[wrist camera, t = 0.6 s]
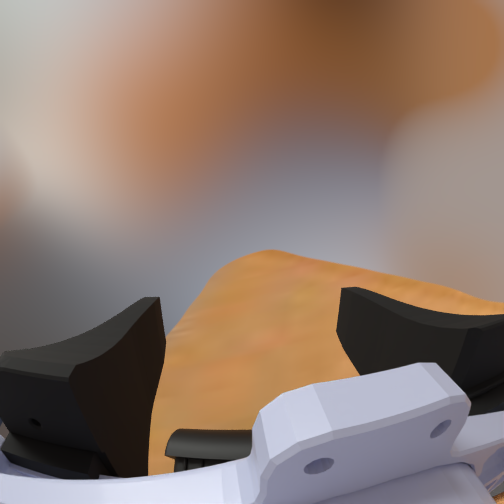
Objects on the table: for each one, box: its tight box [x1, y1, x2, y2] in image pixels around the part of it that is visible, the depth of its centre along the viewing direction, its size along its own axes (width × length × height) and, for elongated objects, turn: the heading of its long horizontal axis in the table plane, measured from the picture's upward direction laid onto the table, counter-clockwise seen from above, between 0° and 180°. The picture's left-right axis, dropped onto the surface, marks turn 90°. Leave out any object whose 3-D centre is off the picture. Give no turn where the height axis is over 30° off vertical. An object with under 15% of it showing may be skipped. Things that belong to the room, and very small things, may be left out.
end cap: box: [165, 429, 252, 473], centre depth 20 cm, size 10×7×7 cm
